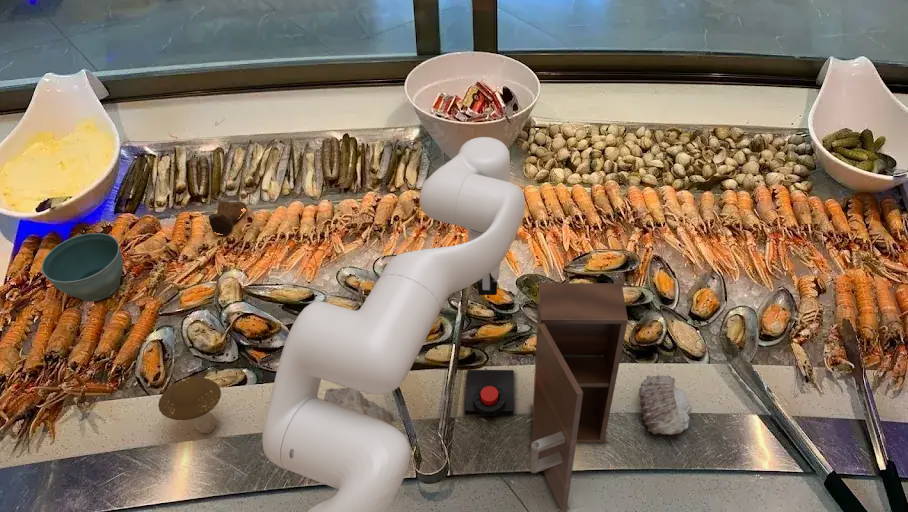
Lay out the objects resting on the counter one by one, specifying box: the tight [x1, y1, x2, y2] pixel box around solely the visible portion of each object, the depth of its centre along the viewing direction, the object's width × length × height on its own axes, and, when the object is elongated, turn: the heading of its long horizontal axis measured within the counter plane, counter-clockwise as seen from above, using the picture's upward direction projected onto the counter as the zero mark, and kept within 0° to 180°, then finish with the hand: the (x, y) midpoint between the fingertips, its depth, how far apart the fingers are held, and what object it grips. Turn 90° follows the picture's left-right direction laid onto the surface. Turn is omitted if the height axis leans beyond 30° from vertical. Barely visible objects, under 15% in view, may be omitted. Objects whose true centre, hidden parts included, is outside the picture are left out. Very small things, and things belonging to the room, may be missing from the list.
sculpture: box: [208, 200, 248, 238], centre depth 176 cm, size 8×10×15 cm
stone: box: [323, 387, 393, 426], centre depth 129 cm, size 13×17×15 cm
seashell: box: [638, 374, 693, 435], centre depth 135 cm, size 14×9×10 cm
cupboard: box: [532, 282, 629, 444], centre depth 122 cm, size 8×14×38 cm, turn 90°
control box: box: [464, 369, 515, 417], centre depth 138 cm, size 11×10×4 cm
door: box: [529, 323, 583, 512], centre depth 113 cm, size 7×14×38 cm, turn 22°
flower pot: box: [41, 232, 124, 303], centre depth 158 cm, size 16×16×11 cm
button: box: [481, 386, 498, 406], centre depth 135 cm, size 4×4×2 cm
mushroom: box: [157, 376, 222, 434], centre depth 129 cm, size 9×11×15 cm
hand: (487, 291), depth 115 cm, fingers closed
